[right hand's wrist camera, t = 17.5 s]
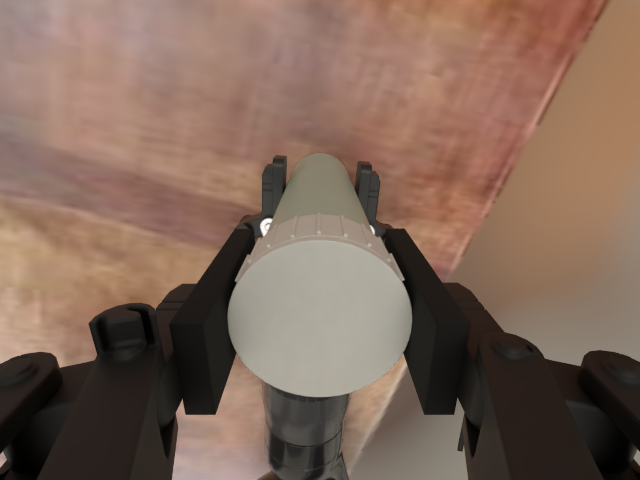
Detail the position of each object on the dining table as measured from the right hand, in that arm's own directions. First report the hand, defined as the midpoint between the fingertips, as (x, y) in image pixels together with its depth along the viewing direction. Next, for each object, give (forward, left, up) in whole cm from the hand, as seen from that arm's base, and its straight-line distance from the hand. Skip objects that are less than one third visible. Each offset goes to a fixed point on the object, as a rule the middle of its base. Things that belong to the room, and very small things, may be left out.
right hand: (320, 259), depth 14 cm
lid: (0, 0, +4) cm, 4 cm away
